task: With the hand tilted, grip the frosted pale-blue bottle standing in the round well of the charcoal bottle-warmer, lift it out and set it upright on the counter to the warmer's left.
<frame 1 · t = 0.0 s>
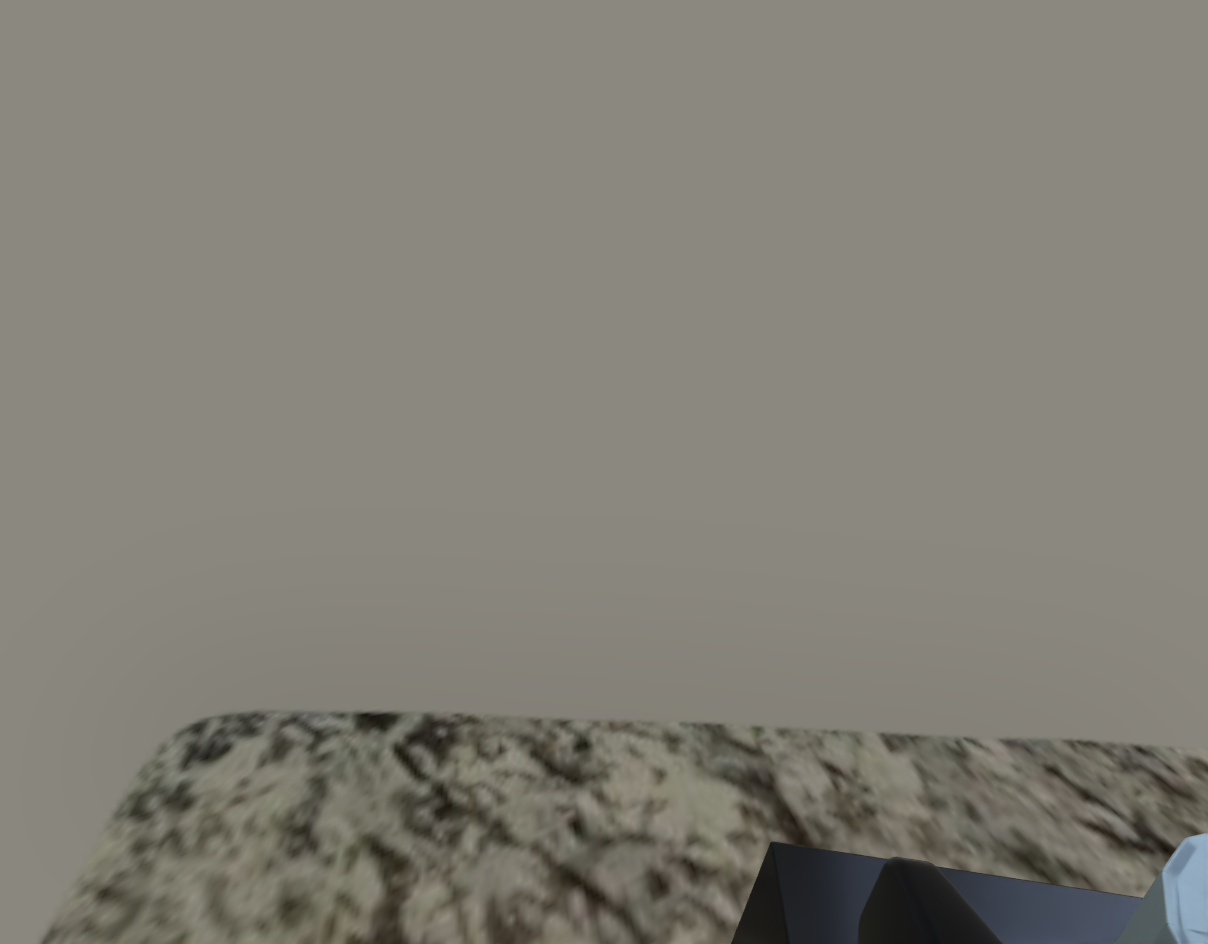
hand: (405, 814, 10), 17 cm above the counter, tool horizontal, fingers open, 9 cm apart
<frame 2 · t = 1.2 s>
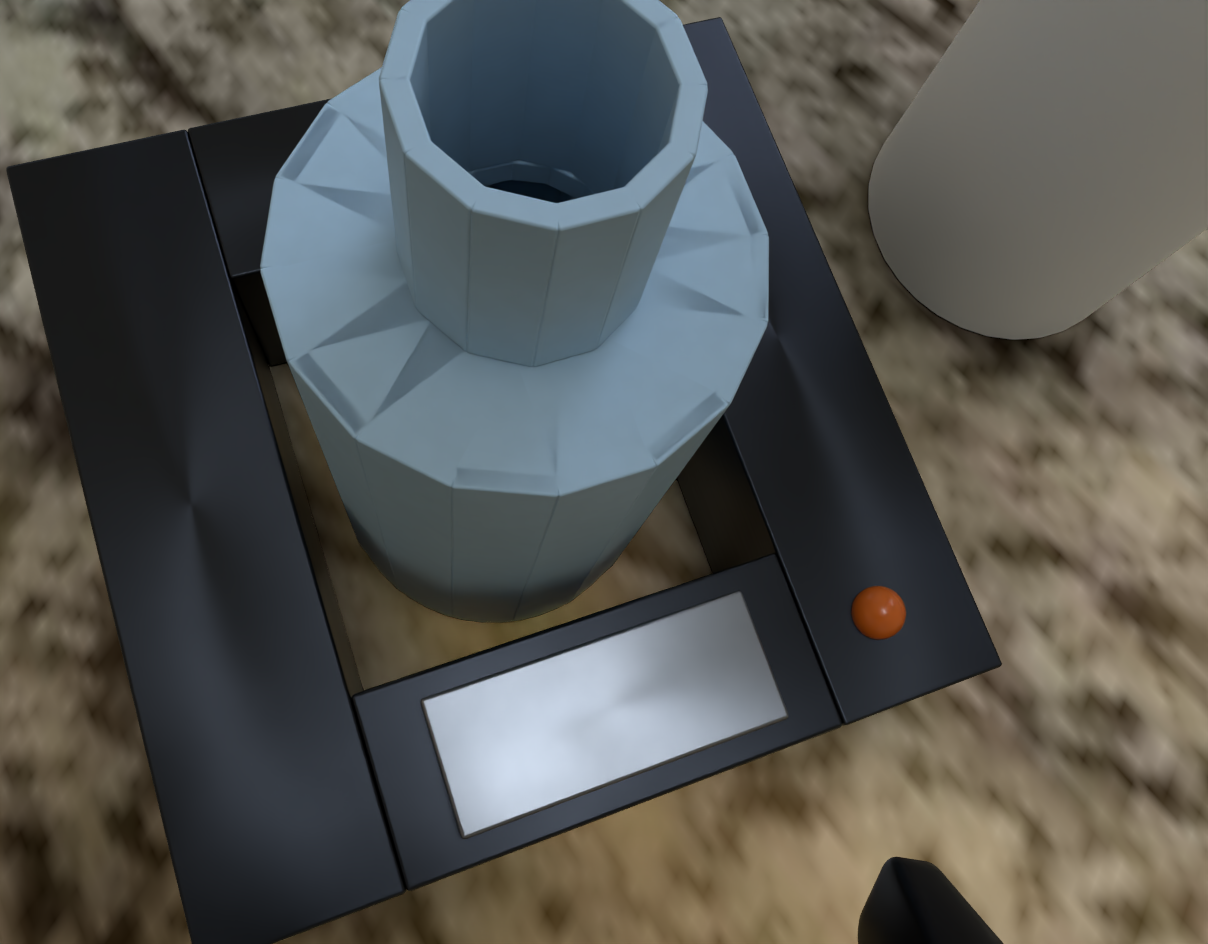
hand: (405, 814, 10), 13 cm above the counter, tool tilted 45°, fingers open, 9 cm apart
cylindrical container: (992, 219, 28), on the counter
bottle: (494, 479, 24), resting in warmer
warmer: (494, 479, 24), on the counter
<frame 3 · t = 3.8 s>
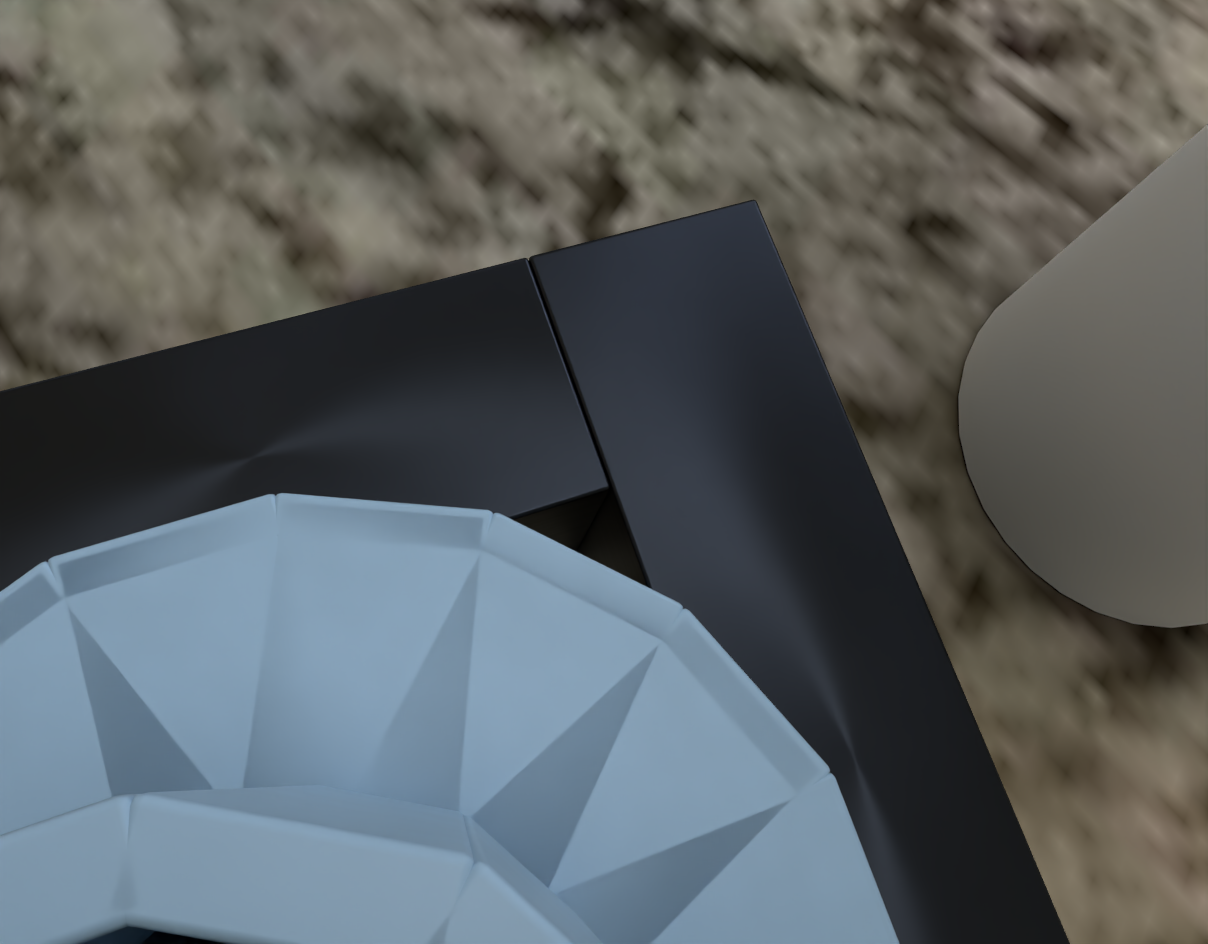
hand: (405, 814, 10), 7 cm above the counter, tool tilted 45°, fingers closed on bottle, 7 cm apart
cylindrical container: (1132, 440, 20), on the counter
bottle: (406, 894, 16), resting in warmer, touching gripper
warmer: (406, 895, 16), on the counter
when the fingers open (7 cm above the counter, at t = 10.3 s): bottle stays where it is, on the counter.
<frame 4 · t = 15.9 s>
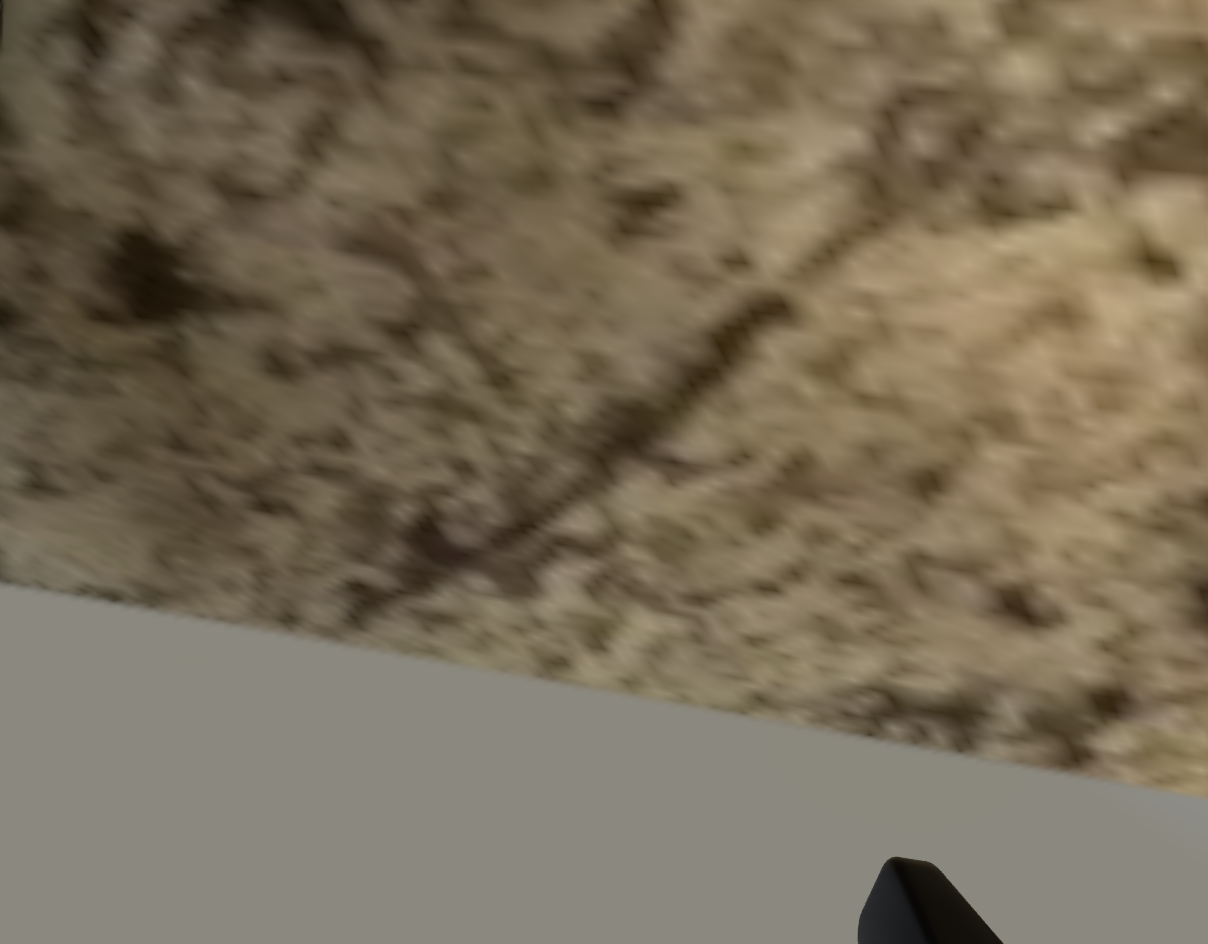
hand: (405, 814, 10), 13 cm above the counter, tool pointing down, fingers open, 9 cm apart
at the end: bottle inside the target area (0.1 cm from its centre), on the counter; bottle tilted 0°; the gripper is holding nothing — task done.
